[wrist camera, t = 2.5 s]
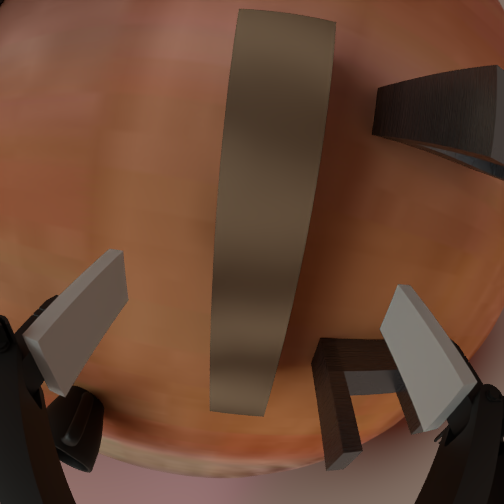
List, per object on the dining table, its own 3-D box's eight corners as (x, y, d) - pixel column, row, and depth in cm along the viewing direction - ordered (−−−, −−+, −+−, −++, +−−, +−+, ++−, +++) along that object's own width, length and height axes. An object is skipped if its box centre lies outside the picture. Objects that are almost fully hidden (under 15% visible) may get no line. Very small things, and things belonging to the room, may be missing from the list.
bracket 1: (320, 338, 21) (343, 453, 12) (408, 339, 21) (452, 431, 12) (311, 363, 22) (326, 470, 13) (395, 363, 22) (429, 451, 13)
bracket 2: (378, 88, 13) (496, 64, 4) (476, 129, 13) (586, 157, 4) (371, 134, 14) (491, 157, 5) (470, 168, 14) (576, 216, 5)
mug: (134, 399, 26) (109, 469, 17) (103, 422, 30) (83, 474, 21) (73, 357, 24) (34, 422, 15) (55, 390, 28) (28, 439, 19)
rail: (246, 41, 13) (239, 8, 8) (315, 50, 13) (335, 22, 8) (217, 364, 23) (209, 410, 18) (264, 369, 23) (263, 416, 18)
